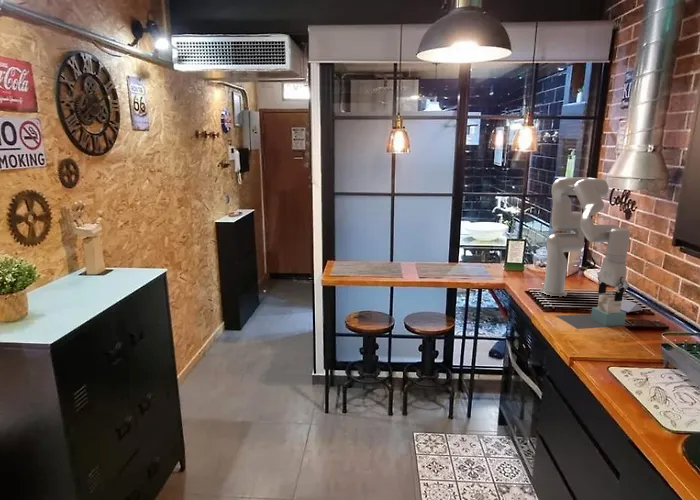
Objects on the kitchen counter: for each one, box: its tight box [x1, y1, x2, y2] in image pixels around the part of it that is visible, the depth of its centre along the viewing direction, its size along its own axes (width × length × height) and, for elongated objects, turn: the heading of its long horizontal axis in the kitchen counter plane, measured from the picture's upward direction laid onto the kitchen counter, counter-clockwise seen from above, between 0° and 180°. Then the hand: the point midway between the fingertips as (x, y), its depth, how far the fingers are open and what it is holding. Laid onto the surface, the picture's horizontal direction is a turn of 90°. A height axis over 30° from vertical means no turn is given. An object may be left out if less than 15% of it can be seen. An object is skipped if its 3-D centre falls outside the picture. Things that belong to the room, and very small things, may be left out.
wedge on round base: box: [620, 298, 644, 314], centre depth 208 cm, size 9×7×13 cm
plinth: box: [590, 306, 627, 326], centre depth 195 cm, size 9×9×5 cm
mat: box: [556, 313, 630, 330], centre depth 197 cm, size 15×24×1 cm, turn 99°
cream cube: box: [597, 294, 622, 313], centre depth 194 cm, size 6×6×6 cm
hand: (609, 296), depth 194 cm, fingers open, 9 cm apart
